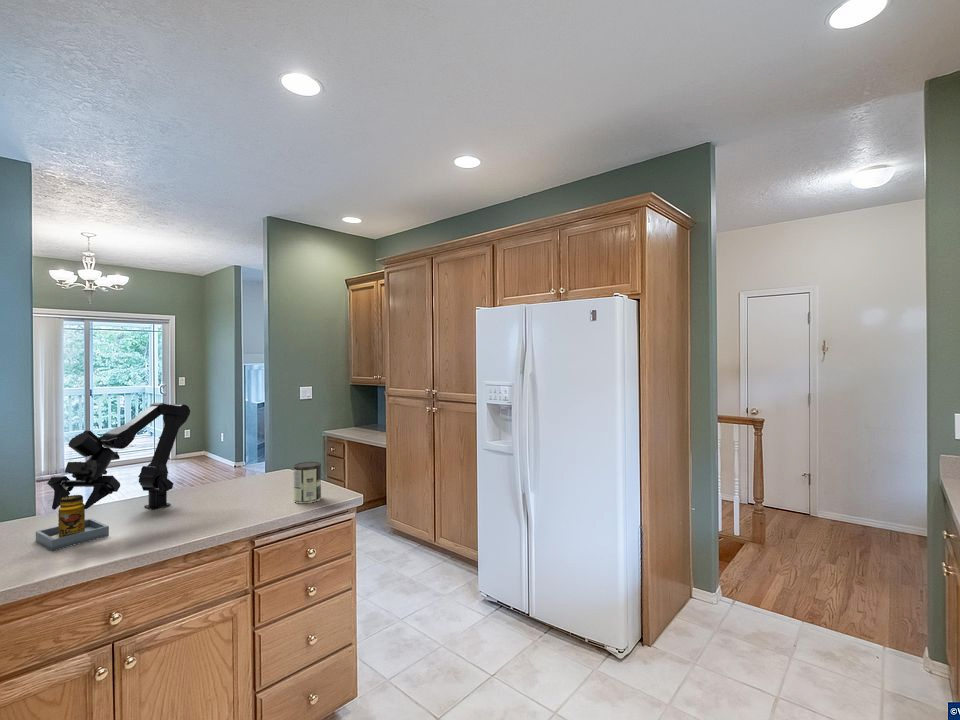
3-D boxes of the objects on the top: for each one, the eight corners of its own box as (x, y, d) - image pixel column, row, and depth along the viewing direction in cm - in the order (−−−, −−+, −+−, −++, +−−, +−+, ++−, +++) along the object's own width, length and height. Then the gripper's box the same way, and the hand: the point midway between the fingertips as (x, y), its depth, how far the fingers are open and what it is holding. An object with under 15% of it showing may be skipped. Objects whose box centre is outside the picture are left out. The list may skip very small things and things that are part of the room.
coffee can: (309, 494, 189) (309, 460, 189) (326, 498, 184) (326, 463, 184) (287, 501, 181) (287, 465, 181) (304, 505, 175) (304, 468, 175)
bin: (35, 541, 140) (35, 531, 140) (91, 527, 152) (91, 518, 152) (51, 550, 133) (51, 540, 133) (108, 535, 145) (108, 526, 145)
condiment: (66, 541, 138) (66, 501, 138) (46, 538, 140) (47, 498, 140) (93, 532, 145) (93, 494, 145) (74, 529, 147) (74, 492, 147)
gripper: (52, 450, 146) (19, 496, 135) (113, 450, 147) (86, 495, 136) (72, 470, 154) (43, 514, 143) (131, 469, 155) (106, 513, 144)
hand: (69, 508), depth 141 cm, fingers open, 9 cm apart
